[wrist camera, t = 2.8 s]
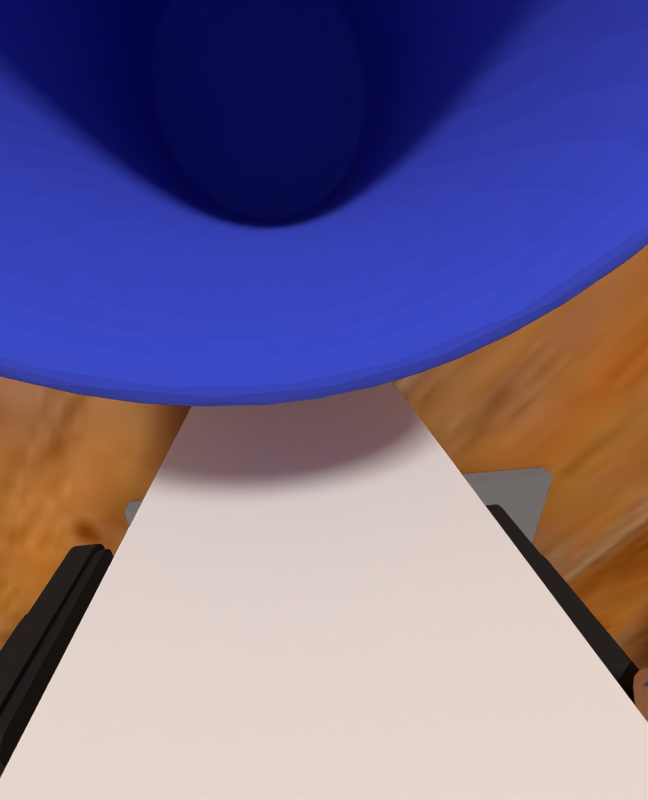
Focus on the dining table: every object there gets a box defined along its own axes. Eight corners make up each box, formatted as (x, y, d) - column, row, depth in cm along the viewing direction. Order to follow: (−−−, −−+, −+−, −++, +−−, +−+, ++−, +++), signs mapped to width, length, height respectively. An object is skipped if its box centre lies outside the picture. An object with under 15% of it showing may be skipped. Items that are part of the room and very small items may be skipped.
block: (362, 342, 13) (930, 1099, 2) (360, 458, 15) (595, 1130, 4) (220, 349, 12) (-350, 1457, 1) (238, 468, 14) (96, 1264, 3)
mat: (544, 467, 16) (553, 475, 16) (488, 652, 22) (493, 663, 22) (129, 501, 15) (124, 512, 14) (190, 692, 20) (187, 704, 20)
